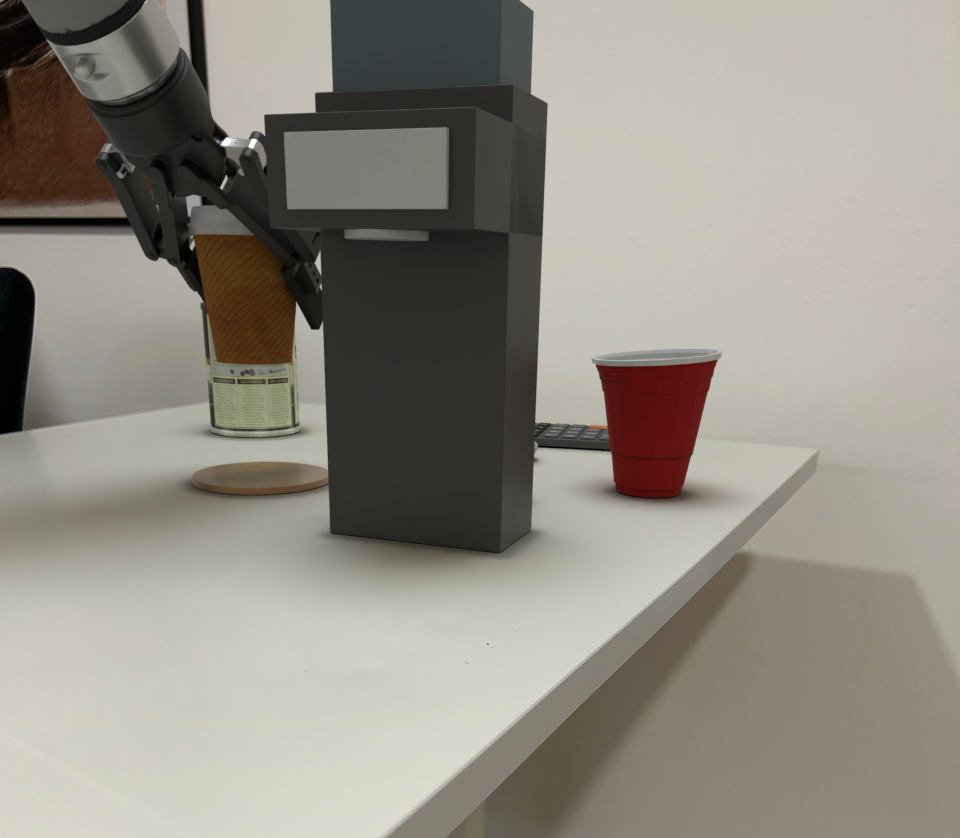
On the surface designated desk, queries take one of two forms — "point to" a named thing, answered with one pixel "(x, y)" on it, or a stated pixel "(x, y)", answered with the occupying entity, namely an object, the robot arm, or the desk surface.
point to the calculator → (572, 435)
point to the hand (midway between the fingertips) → (273, 315)
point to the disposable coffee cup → (242, 291)
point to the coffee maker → (424, 264)
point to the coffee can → (250, 394)
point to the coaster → (260, 478)
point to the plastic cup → (654, 415)
